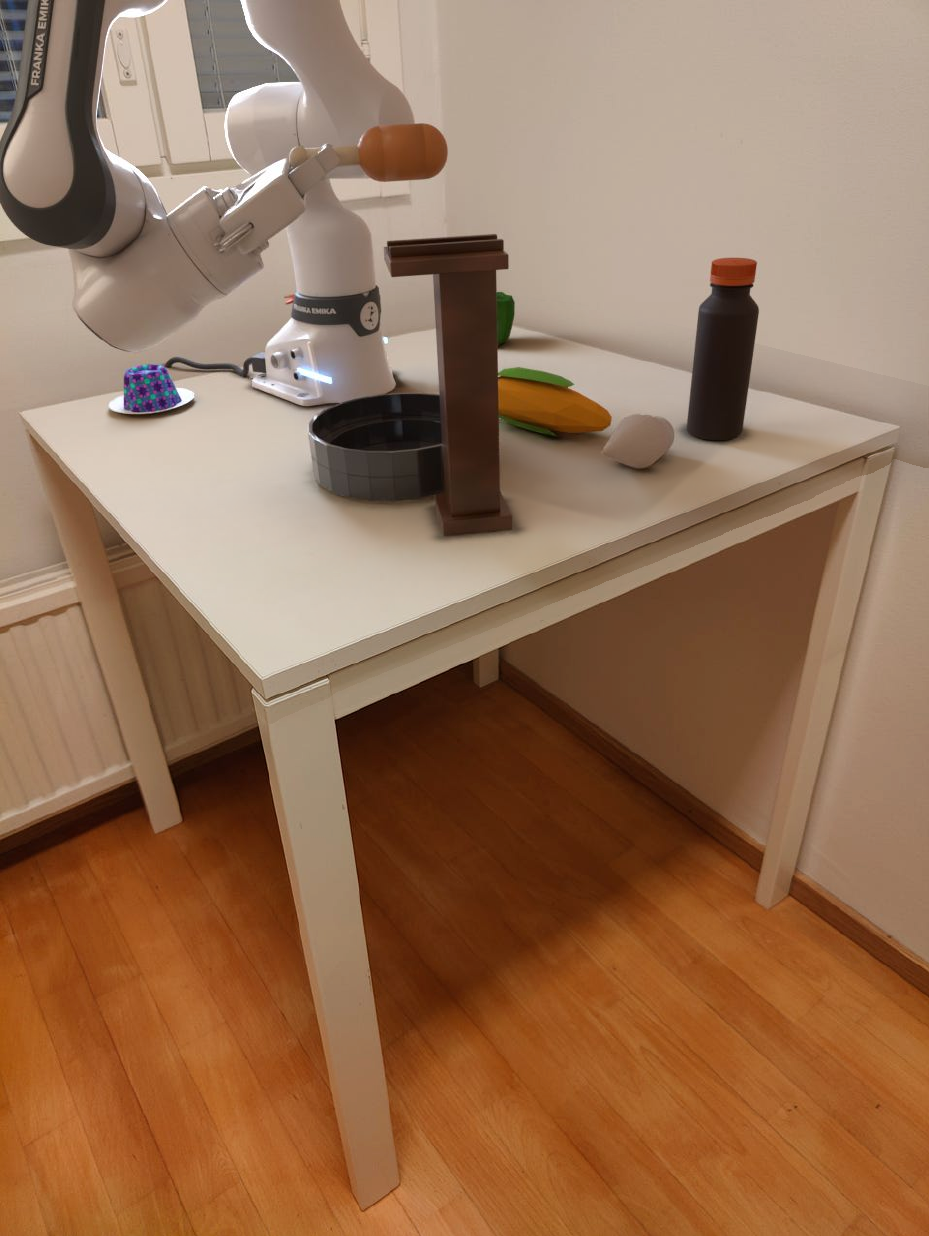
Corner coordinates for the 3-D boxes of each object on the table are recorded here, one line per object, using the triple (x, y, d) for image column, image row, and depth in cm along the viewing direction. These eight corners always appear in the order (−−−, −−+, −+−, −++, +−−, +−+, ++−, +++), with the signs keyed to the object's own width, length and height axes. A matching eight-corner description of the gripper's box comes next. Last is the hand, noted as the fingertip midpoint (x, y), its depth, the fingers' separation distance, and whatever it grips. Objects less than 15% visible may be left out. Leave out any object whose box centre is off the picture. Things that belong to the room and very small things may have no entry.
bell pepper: (483, 335, 152) (481, 275, 147) (522, 340, 148) (522, 279, 143) (455, 346, 147) (452, 284, 141) (495, 352, 142) (494, 289, 137)
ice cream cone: (592, 491, 94) (654, 468, 105) (636, 465, 89) (696, 444, 100) (566, 441, 94) (631, 423, 105) (609, 413, 90) (672, 397, 101)
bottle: (754, 433, 107) (779, 261, 96) (713, 445, 104) (734, 269, 93) (714, 418, 112) (733, 253, 101) (674, 430, 109) (690, 261, 98)
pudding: (173, 387, 133) (165, 352, 130) (210, 404, 125) (202, 367, 122) (96, 406, 126) (87, 370, 124) (130, 425, 119) (121, 387, 116)
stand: (412, 542, 85) (389, 251, 71) (404, 508, 92) (382, 237, 78) (513, 531, 86) (510, 243, 72) (498, 499, 93) (493, 230, 79)
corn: (507, 350, 114) (632, 378, 102) (510, 405, 119) (631, 438, 107) (468, 367, 110) (594, 398, 98) (473, 424, 115) (594, 459, 103)
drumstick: (292, 189, 82) (284, 131, 79) (293, 184, 86) (285, 129, 83) (452, 180, 83) (449, 123, 81) (445, 175, 87) (443, 120, 85)
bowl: (278, 480, 100) (270, 430, 97) (391, 428, 113) (387, 383, 110) (412, 520, 90) (408, 466, 86) (518, 458, 103) (518, 409, 100)
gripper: (187, 223, 75) (315, 124, 72) (210, 196, 92) (314, 115, 90) (235, 286, 78) (360, 194, 76) (249, 249, 95) (351, 172, 93)
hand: (335, 151), depth 83 cm, fingers closed on drumstick
